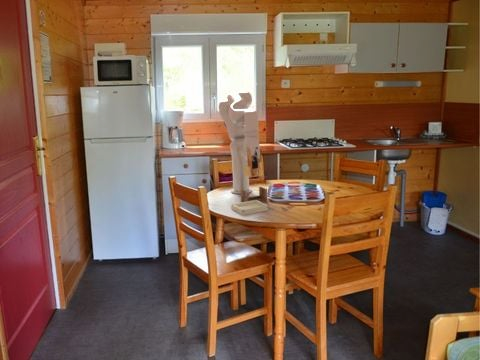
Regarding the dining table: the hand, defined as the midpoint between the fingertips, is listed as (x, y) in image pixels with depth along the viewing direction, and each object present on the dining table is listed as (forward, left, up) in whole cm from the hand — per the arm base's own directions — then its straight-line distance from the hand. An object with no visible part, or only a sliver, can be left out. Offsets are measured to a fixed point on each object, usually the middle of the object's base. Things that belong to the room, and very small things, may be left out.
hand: (252, 167), depth 233 cm
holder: (0, 0, -19) cm, 19 cm away
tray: (+12, -9, -19) cm, 25 cm away
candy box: (0, 0, -5) cm, 5 cm away
